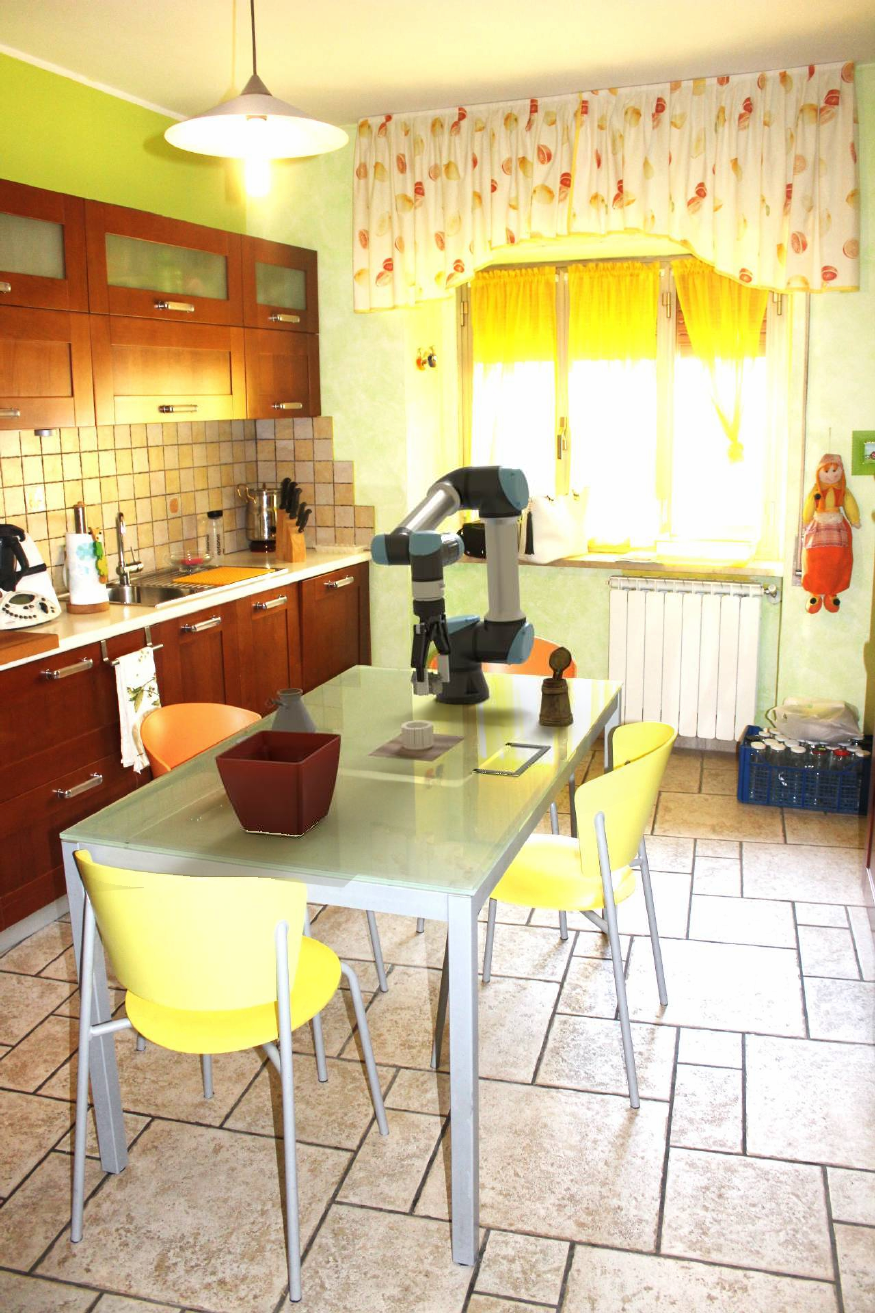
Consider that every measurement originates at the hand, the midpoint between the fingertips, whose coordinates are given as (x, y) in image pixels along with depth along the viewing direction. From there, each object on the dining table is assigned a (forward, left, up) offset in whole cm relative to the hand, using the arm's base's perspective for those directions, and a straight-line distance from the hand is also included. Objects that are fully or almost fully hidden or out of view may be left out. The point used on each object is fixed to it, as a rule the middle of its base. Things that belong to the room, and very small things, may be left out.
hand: (433, 688), depth 263 cm
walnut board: (0, -5, -16) cm, 16 cm away
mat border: (0, +16, -16) cm, 22 cm away
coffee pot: (+6, -38, -16) cm, 42 cm away
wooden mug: (-34, +19, -16) cm, 42 cm away
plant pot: (+52, -9, -16) cm, 55 cm away
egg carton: (0, -2, -1) cm, 2 cm away
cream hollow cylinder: (0, -5, -15) cm, 15 cm away
